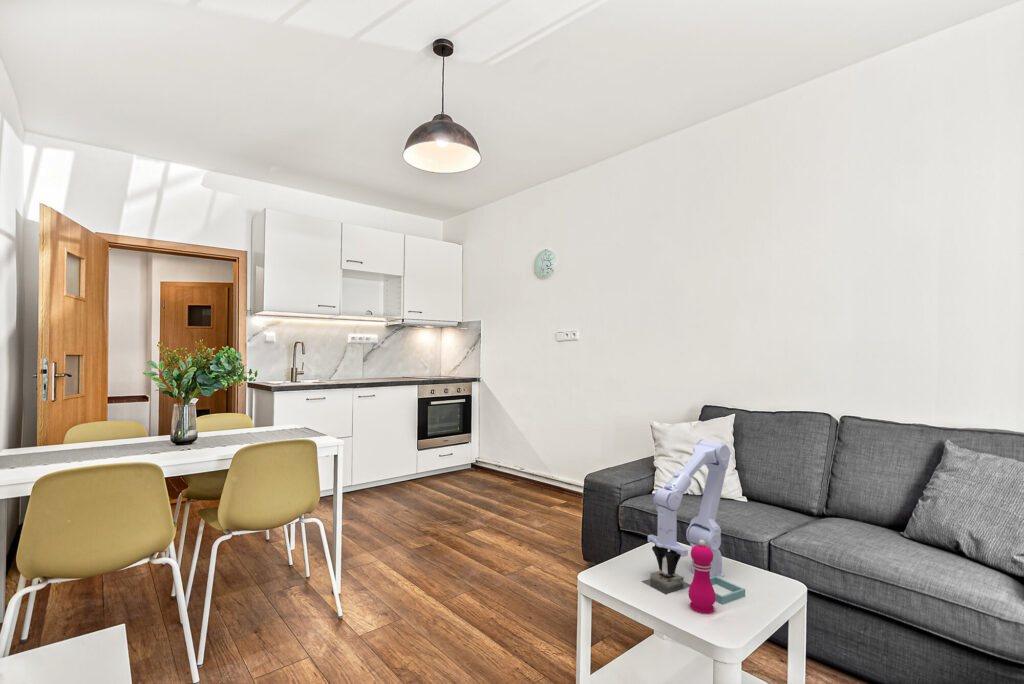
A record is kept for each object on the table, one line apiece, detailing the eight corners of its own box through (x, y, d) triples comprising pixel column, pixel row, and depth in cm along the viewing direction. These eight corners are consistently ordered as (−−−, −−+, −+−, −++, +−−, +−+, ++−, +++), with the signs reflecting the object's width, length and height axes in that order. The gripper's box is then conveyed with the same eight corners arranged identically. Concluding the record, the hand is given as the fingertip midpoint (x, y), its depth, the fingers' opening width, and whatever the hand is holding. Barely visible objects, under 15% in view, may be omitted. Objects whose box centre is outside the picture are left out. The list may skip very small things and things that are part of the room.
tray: (715, 585, 157) (715, 576, 157) (745, 599, 148) (745, 589, 148) (692, 593, 152) (692, 583, 152) (722, 607, 143) (722, 597, 143)
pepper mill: (701, 620, 136) (701, 546, 136) (682, 608, 142) (682, 537, 143) (721, 615, 138) (721, 542, 139) (702, 603, 145) (702, 534, 146)
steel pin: (666, 579, 158) (666, 552, 158) (674, 583, 155) (674, 555, 155) (659, 581, 156) (659, 554, 156) (667, 585, 154) (667, 557, 154)
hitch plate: (668, 576, 163) (668, 565, 163) (692, 589, 154) (692, 577, 154) (641, 584, 157) (641, 573, 157) (665, 597, 148) (665, 585, 148)
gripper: (640, 523, 161) (640, 566, 160) (676, 537, 148) (676, 583, 147) (656, 520, 164) (656, 561, 164) (692, 533, 152) (692, 578, 151)
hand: (666, 571), depth 156 cm, fingers closed on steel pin, 3 cm apart
